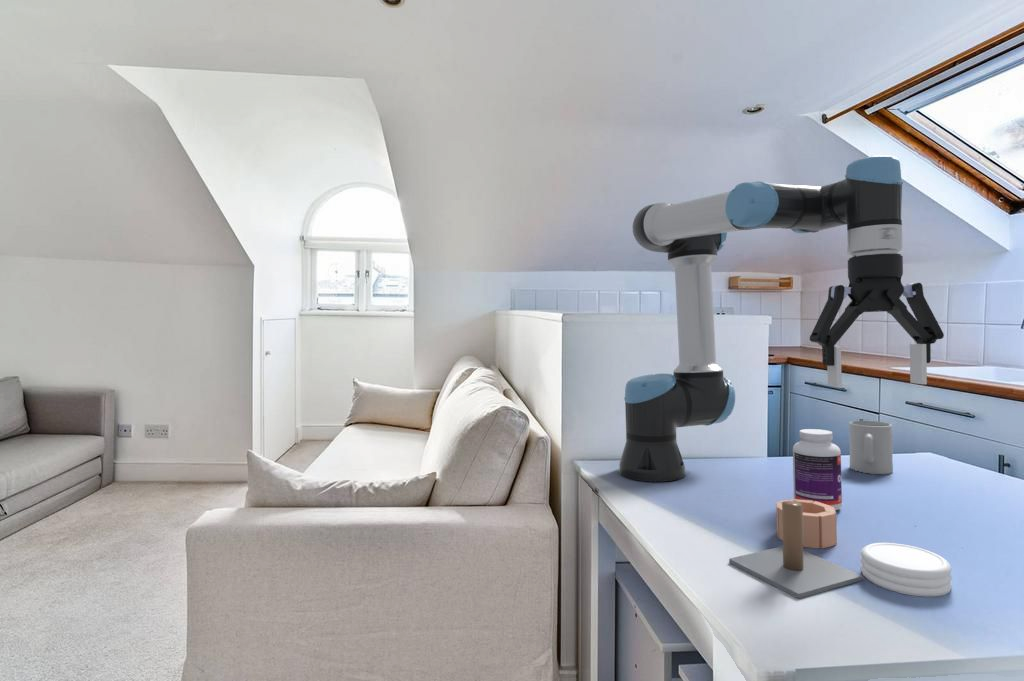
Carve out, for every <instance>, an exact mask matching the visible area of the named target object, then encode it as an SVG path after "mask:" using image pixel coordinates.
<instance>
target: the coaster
mask: <svg viewBox="0 0 1024 681" xmlns="http://www.w3.org/2000/svg"><path fill="white" fill-rule="evenodd" d="M860 555H861V559H860V562H861V567H860V570H861V573H862V575H863V577H864V578H866V579H867V580H868V581H870V582H871V583H873V584H874V585H876V586H879V587H882V588H883V589H886V590H889V591H892V592H894V593H899V594H902V595H903V594H904V595H909V596H915V597H924V598H925V597H926V598H927V597H929V598H931V597H932V598H933V597H940V596H944V595H947V594H948V593H950V592H951V590H952V585H953V584H952V583H951V581H952V575H951V572H952V566H951V564H950V563H949V561H947V560H946V558H944V557H942V556H941V555H939V554H937V553H935V552H932V551H929V550H927V549H924V548H921V547H918V546H913V545H908V544H902V543H894V542H874V543H870V544H867V545H865V546H863V547H862V548H861V551H860Z"/></svg>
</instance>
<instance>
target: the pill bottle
mask: <svg viewBox="0 0 1024 681" xmlns="http://www.w3.org/2000/svg"><path fill="white" fill-rule="evenodd" d="M798 435H799V439H800V441H798V442H796V443H795V444H794V445H792V446H793V447H792V466H793V468H792V471H793V472H792V473H793V499H800V500H812V501H813V502H814V501H817V502H820V503H823V504H826V505H830V506H832V507H834V509H835V511H836V512H837V511H838V510H840V509H841V508H842V505H843V494H842V493H843V492H842V489H843V488H842V453H841V452H842V451H841V449H840V447H839V446H838V445H836V444H835V443H833V442H832V441H833V438H834V437H833V431H831V430H826V429H818V428H817V429H815V428H805V429H804V428H803V429H800V430H799V434H798Z"/></svg>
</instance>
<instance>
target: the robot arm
mask: <svg viewBox="0 0 1024 681" xmlns="http://www.w3.org/2000/svg"><path fill="white" fill-rule="evenodd" d="M845 172H846V173H845V175H844V177H845V179H842V180H840V181H837V182H834V183H829V184H825V185H821V186H816V185H803V184H782V183H772V182H764V181H750V182H748V181H747V182H740V183H738V184H737V185H735V187H734V188H733V189H732V190H729V191H726V192H721V193H716V194H713V195H709V196H705V197H700V198H695V199H690V200H687V201H683V202H677V203H667V202H658V203H653V204H649V205H647V206H643V208H641V209H640V210H639V211H638V212H637V213H636V215H635V216H634V218H633V222H632V233H633V236H634V239H635V241H636V242H637V244H638V245H639V246H640V247H642V248H643V249H645V250H647V251H651V252H653V253H665V254H667V263H668V264H670V265H671V267H673V269H674V280H675V297H676V298H675V300H676V318H677V320H676V321H677V342H678V360H679V361H678V363H679V364H678V365H677V366H676V367H675V369H674V370H673V371H672V372H673V374H672V373H655V374H653V373H652V374H646V375H640V376H637V377H633V378H631V379H630V380H628V381H627V382H626V383H625V384H626V385H625V388H624V392H625V393H624V405H625V408H624V409H625V443H624V448H623V451H622V453H621V454H622V455H621V458H620V461H619V464H618V466H619V474H620V475H621V476H623V477H624V478H627V479H630V480H635V481H642V482H657V483H658V482H662V483H663V482H671V481H677V480H680V479H683V478H684V477H685V475H686V471H685V470H686V467H685V463H684V460H683V457H682V454H681V451H680V447H679V445H678V442H677V441H678V440H677V428H684V427H685V428H687V427H695V426H712V425H715V424H720V423H723V422H725V421H726V420H727V419H728V418H729V416H731V414H732V413H733V411H734V408H735V405H736V391H735V387H734V385H732V382H731V380H730V379H729V378H727V377H726V376H724V369H723V368H722V367H721V366H719V364H718V363H717V358H716V357H717V354H716V338H715V335H716V334H715V316H714V315H715V314H714V313H715V312H714V298H713V297H714V296H713V295H714V293H713V276H712V265H713V264H714V263H715V261H716V260H717V259H718V252H720V251H721V250H722V249H723V247H724V246H725V242H726V241H727V234H728V233H730V232H731V233H732V232H739V231H740V232H741V231H750V230H751V231H752V230H757V229H785V230H786V229H789V230H791V231H792V232H794V233H796V234H807V233H818V232H819V231H823V230H828V229H832V228H837V227H841V226H845V225H846V231H847V233H846V234H847V236H846V237H847V238H846V240H847V245H846V246H847V247H846V248H847V251H846V253H847V255H849V256H851V257H849V258H848V259H847V278H848V282H849V283H848V286H844V285H842V284H839V285H832V286H829V287H828V296H827V300H826V303H824V304H825V305H824V306H823V309H822V311H821V313H820V315H819V317H818V319H817V321H816V323H815V325H814V328H813V330H812V332H811V334H810V336H809V341H810V342H812V343H816V344H817V345H819V346H820V347H821V348H822V349H821V351H822V352H821V353H822V359H821V360H822V365H823V366H827V370H826V372H827V386H831V387H836V388H837V387H841V388H842V386H843V384H842V380H843V379H842V346H840V345H836V344H837V343H838V342H839V341H840V340H841V338H842V337H843V336H844V334H846V333H847V331H848V330H849V329H850V328H851V326H852V325H853V324H854V322H856V320H857V319H858V317H859V316H860V315H862V314H864V313H873V312H874V313H875V312H876V313H882V312H886V313H887V314H890V315H891V316H892V317H893V318H894V320H895V321H896V322H898V324H899V326H901V327H902V328H903V330H904V331H906V332H907V334H908V336H910V338H912V340H913V341H914V342H915V343H909V371H910V372H909V373H910V374H909V380H910V382H909V383H911V384H918V385H927V384H928V380H927V379H928V378H927V377H928V374H927V372H928V371H927V370H928V369H927V368H928V367H927V364H930V362H931V359H932V358H931V355H932V354H931V352H932V349H931V347H932V346H931V344H932V345H933V344H935V343H936V342H937V341H938V340H941V339H942V340H943V338H944V336H945V335H944V334H945V333H944V332H943V330H942V328H941V326H940V324H939V322H938V320H937V319H936V317H935V315H934V313H933V311H932V309H931V308H930V306H929V303H928V302H927V299H926V298H925V295H924V288H923V284H922V283H921V282H912V283H906V284H904V285H903V284H902V283H903V282H902V277H903V275H904V266H903V264H904V260H903V259H904V258H903V255H902V254H901V253H898V252H900V251H902V250H903V223H902V203H903V202H902V200H903V198H902V197H903V194H902V193H903V181H902V170H901V162H900V160H899V158H897V157H895V156H892V155H875V156H869V157H867V156H866V157H864V158H860V159H857V160H854V161H852V162H851V163H849V164H848V165H847V166H846V170H845ZM847 296H848V297H849V299H850V300H851V301H850V302H849V303H848V304H847V306H846V307H845V309H844V310H843V312H842V314H841V315H840V316H839V317H838V319H837V320H836V321H835V319H836V317H837V315H838V313H839V311H840V309H841V307H842V305H843V302H844V300H845V299H846V297H847ZM902 296H903V297H904V298H905V299H906V302H907V304H908V305H909V307H910V310H911V311H912V313H913V314H912V313H911V312H910V311H909V310H908V306H907V304H905V303H904V302H903V301H902V300H901V297H902ZM834 321H835V323H834Z"/></svg>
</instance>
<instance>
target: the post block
mask: <svg viewBox="0 0 1024 681" xmlns="http://www.w3.org/2000/svg"><path fill="white" fill-rule="evenodd" d="M782 527H783V540H782V546H777V547H774V548H770V549H769V548H768V549H765V550H760V551H756V552H752V553H747V554H744V555H743V554H742V555H739V556H736V557H731V558H729V560H728V562H729V563H730V564H731V565H733V566H734V567H737V568H739V569H741V570H742V571H745V572H746V573H748V574H750V575H753V576H754V577H756V578H758V579H760V580H762V581H764V582H766V583H768V584H770V585H771V586H774V587H776V588H777V589H780V590H782V591H784V592H785V593H787V594H789V595H791V596H792V597H794V598H797V599H802V598H805V597H809V596H812V595H815V594H819V593H823V592H826V591H830V590H833V589H837V588H840V587H844V586H847V585H851V584H854V583H858V582H861V581H864V575H863V574H860V573H858V572H856V571H852V570H850V569H848V568H846V567H843V566H842V565H838V564H836V563H833V562H832V561H829V560H826V559H824V558H822V557H819V556H817V555H814V554H813V553H810V552H807V551H805V550H804V547H803V505H802V504H801V503H799V502H794V501H784V502H782Z"/></svg>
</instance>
